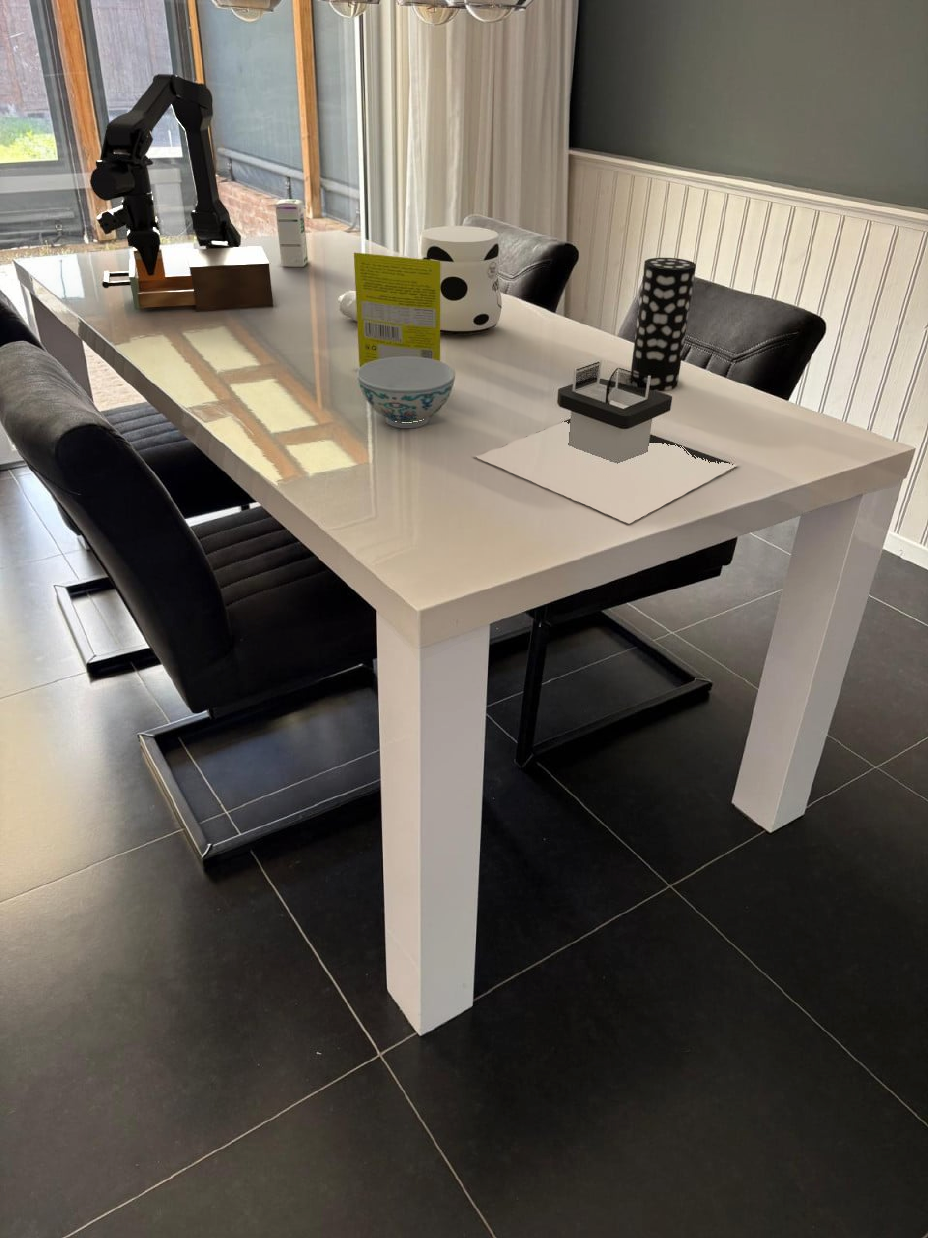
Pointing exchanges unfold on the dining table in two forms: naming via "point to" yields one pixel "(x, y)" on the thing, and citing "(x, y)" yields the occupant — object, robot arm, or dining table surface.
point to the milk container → (465, 276)
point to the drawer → (154, 289)
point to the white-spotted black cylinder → (662, 321)
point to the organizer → (230, 278)
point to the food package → (397, 307)
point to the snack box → (141, 270)
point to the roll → (348, 305)
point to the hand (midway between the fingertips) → (150, 273)
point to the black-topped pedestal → (615, 415)
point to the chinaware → (406, 388)
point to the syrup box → (291, 233)
